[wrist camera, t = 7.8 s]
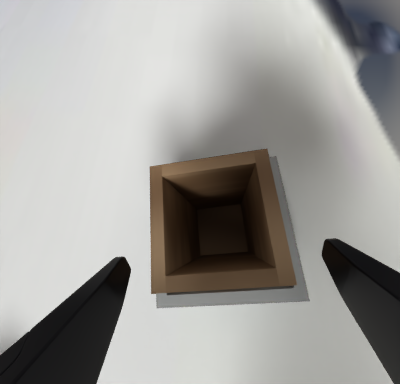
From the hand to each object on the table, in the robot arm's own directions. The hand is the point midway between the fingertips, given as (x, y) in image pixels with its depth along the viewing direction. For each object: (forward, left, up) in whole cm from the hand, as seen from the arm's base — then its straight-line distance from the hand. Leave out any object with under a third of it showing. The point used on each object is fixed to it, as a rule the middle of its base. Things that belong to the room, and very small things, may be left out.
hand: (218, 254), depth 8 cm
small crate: (+1, -1, -9) cm, 9 cm away
